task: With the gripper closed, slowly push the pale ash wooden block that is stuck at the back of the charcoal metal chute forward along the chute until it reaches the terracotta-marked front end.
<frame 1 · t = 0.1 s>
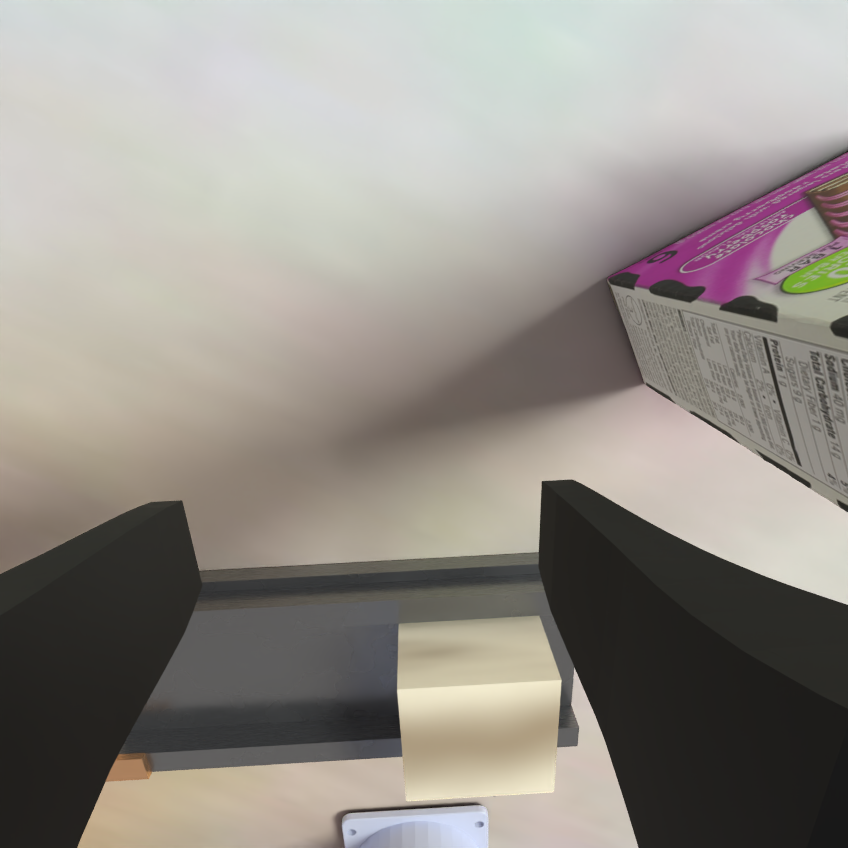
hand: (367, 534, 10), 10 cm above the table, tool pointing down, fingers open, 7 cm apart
candy bar box: (756, 260, 19), on the table
chute: (339, 652, 24), on the table
jammed block: (473, 699, 21), point 3 cm above the table, slide at 0.0 cm
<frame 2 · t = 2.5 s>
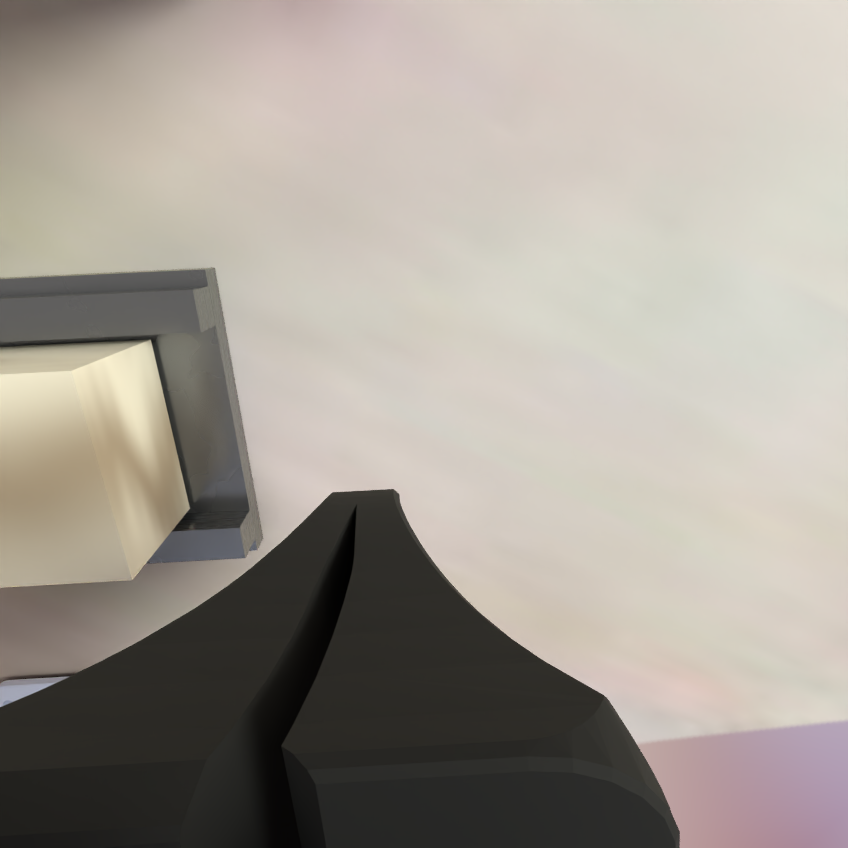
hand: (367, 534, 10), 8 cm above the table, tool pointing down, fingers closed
jammed block: (39, 458, 15), point 3 cm above the table, slide at 0.0 cm
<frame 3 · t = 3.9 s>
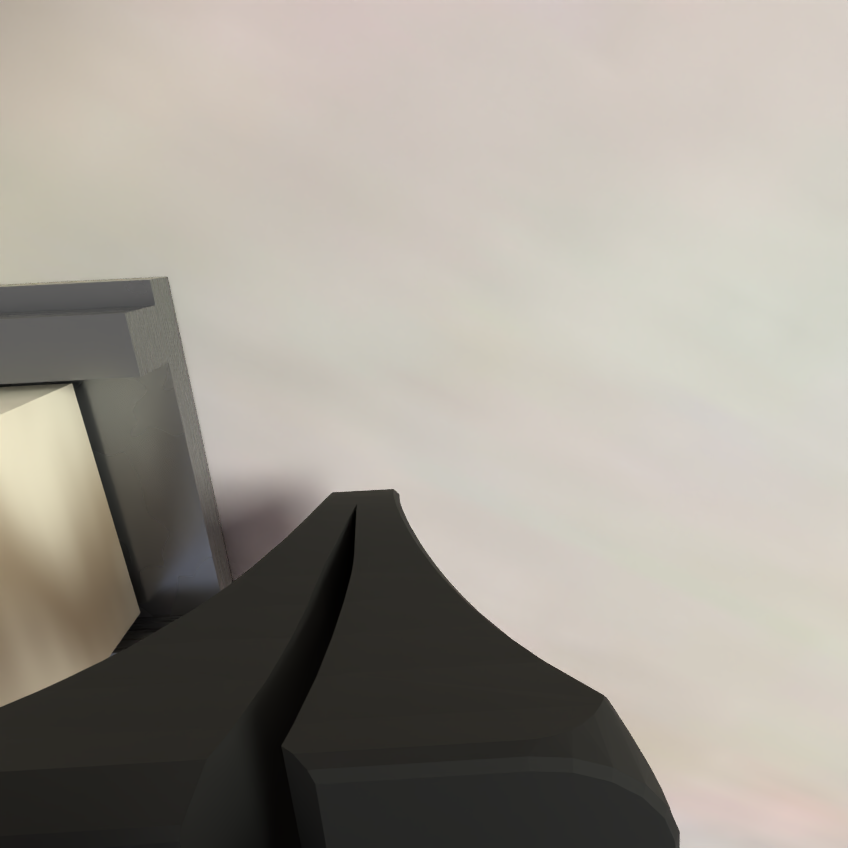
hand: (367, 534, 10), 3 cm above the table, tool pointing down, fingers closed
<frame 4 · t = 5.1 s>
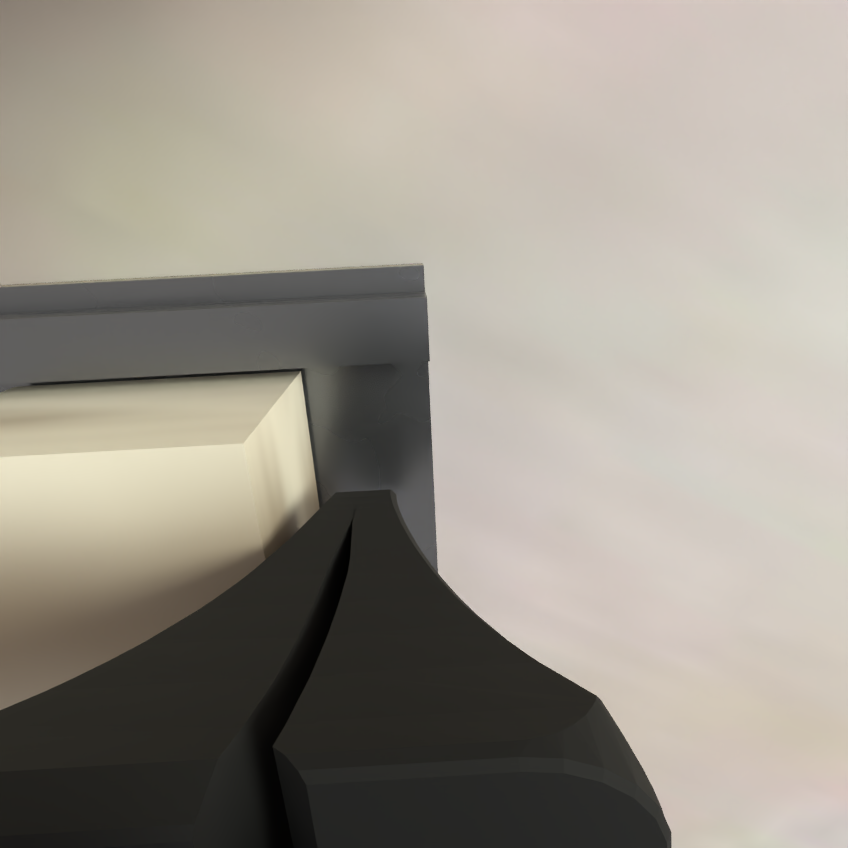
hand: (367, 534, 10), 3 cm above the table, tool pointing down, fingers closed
jammed block: (146, 554, 10), point 3 cm above the table, slide at 0.7 cm, touching gripper
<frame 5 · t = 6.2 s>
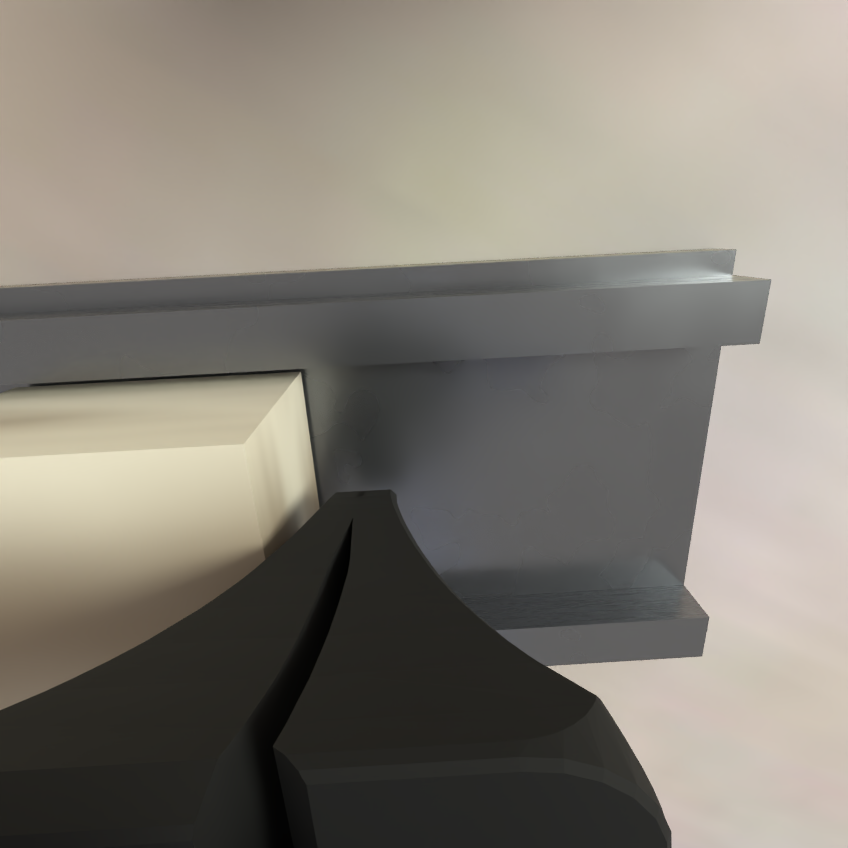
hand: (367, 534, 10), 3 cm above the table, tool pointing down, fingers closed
chute: (249, 482, 13), on the table
jammed block: (147, 555, 10), point 3 cm above the table, slide at 7.1 cm, touching gripper
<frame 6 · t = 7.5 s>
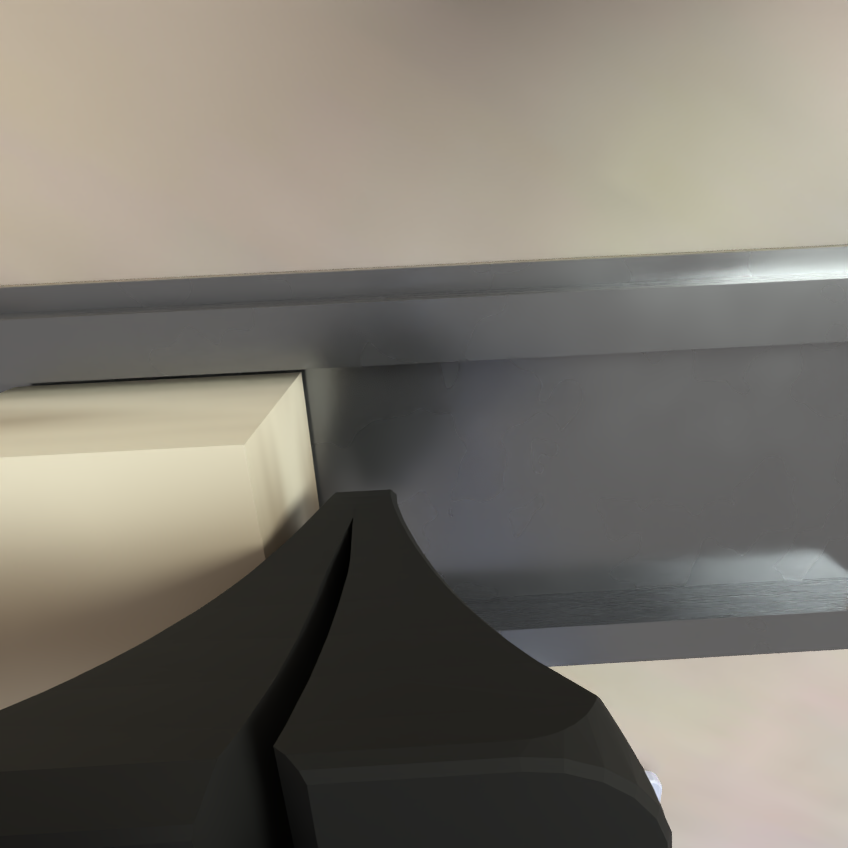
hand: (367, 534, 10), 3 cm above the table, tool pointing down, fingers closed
chute: (430, 472, 13), on the table
jammed block: (146, 555, 10), point 3 cm above the table, slide at 11.7 cm, touching gripper
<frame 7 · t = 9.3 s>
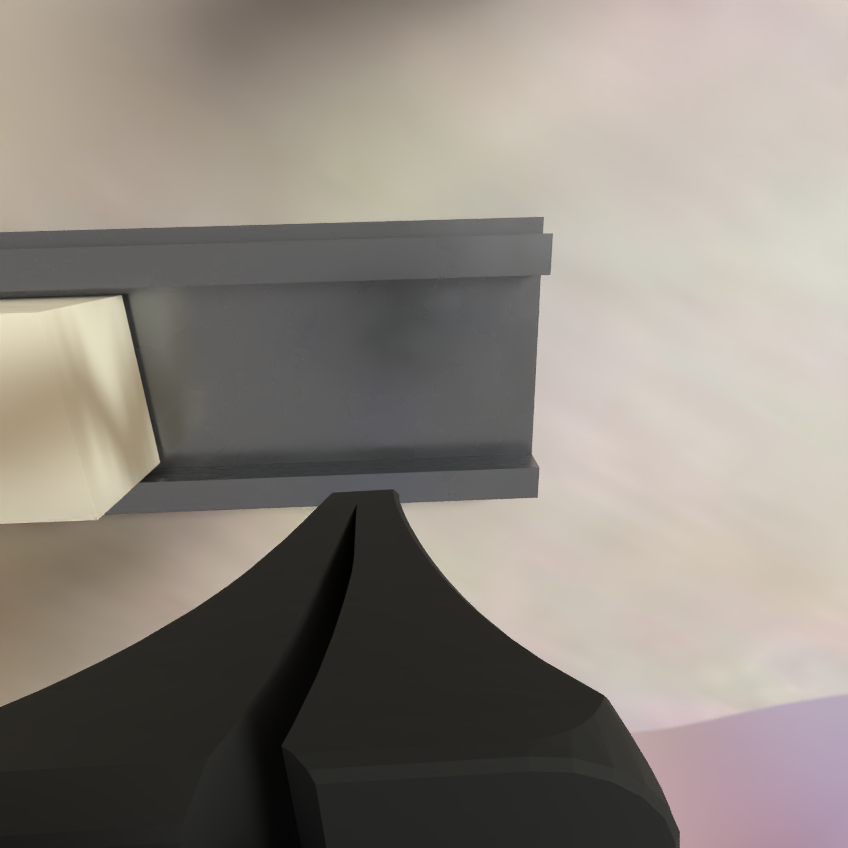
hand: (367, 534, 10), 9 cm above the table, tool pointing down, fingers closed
chute: (231, 373, 19), on the table
jammed block: (11, 405, 16), point 3 cm above the table, slide at 11.8 cm
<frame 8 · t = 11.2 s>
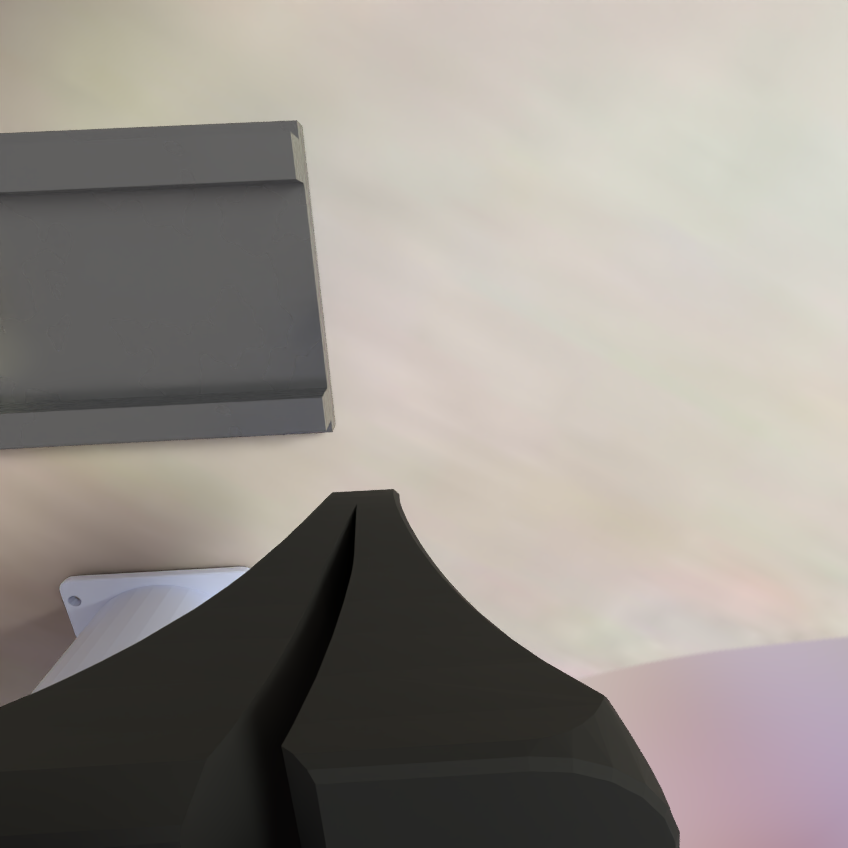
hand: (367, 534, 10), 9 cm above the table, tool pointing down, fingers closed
chute: (1, 305, 17), on the table
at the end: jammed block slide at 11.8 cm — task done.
